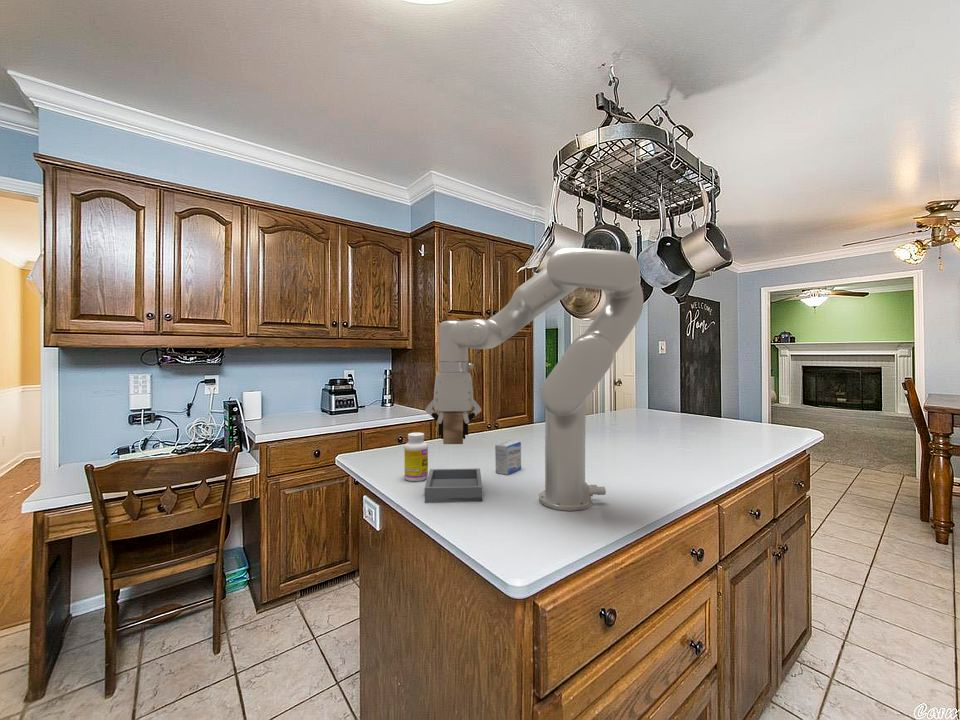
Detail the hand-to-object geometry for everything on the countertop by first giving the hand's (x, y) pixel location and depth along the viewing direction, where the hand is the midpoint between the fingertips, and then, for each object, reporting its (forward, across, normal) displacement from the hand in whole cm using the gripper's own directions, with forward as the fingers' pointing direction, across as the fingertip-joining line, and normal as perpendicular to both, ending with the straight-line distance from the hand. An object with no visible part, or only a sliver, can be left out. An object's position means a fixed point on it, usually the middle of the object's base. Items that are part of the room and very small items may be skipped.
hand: (453, 437), depth 108 cm
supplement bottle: (+15, +11, -11) cm, 21 cm away
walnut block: (+1, 0, 0) cm, 1 cm away
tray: (+14, 0, 0) cm, 14 cm away
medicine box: (+14, -16, -17) cm, 27 cm away
